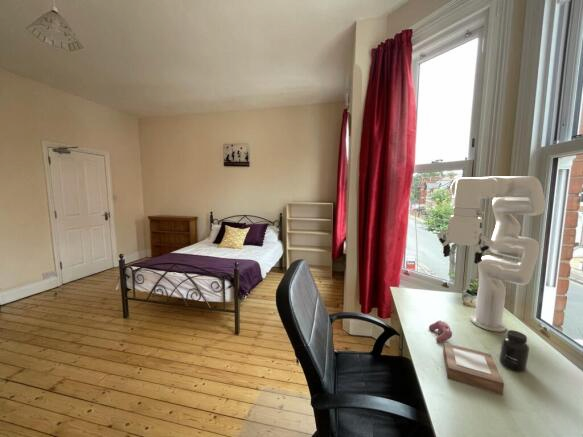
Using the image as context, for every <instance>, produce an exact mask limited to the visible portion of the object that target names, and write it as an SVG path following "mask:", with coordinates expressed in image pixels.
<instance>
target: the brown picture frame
mask: <svg viewBox="0 0 583 437" xmlns="http://www.w3.org/2000/svg"><path fill="white" fill-rule="evenodd" d="M442 355H443V361H444V366H445V371H446V372H445V373H446V377H447V379H448V380H452V381H454V382H456V383H461V384H464V385H467V386H469V387H470V386H471V387H473V388H478V389H480V390H484V391H486V392H491V393H494V394H497V395H500V396H503V395H504V389H505V388H504V387H505V382H504V380H503V378H502V376H501V373H500V371H499V369H498V367H497V364H496V363H495V360H494V358H493V355H492V354H491V353H487V352H484V351H479V350H476V349H471V348H467V347H464V346H463V347H462V346H459V345H455V344H451V343H446V342H443V349H442Z"/></svg>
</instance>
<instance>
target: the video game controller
mask: <svg viewBox="0 0 583 437" xmlns="http://www.w3.org/2000/svg"><path fill="white" fill-rule="evenodd" d="M428 329H429V330H430V331H435V330H437V331H436V333H437V334H439V335H438V336H437V337H436V339H435V340H436V342H438V343H445V342H446V341H448V340H449V339H451V338H452V337H453V332H452V331H451V327H450V326H449V324H448V323H447V322H445V321H443V320H437V321H435V322H434V323H432V324H430V325H429V326H428Z"/></svg>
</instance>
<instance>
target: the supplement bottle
mask: <svg viewBox="0 0 583 437" xmlns="http://www.w3.org/2000/svg"><path fill="white" fill-rule="evenodd" d="M527 338H528V337H527V336H526V334H524V333H523V332H520V331H516V330H512V329H511V330H507V334H506V336H505V337H503V338H502V342H501V348H500V356H499V361H500V363H501V365H502V366H504V367H505V368H507V369H509V370H511V371H513V372H517V373H523V372H526V369H527V364H528V360H529V359H528V358H529V353H530V347H529V345H528V343H527V340H528V339H527Z"/></svg>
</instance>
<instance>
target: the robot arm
mask: <svg viewBox="0 0 583 437" xmlns="http://www.w3.org/2000/svg"><path fill="white" fill-rule="evenodd" d="M543 189H544V188H543V186H542V184H541V181H540V180H539V179H538V177H535V176H482V177H481V176H480V177H475V176H474V177H457V178H456V179H454V180H453V182H452V183H451V185H450V192H451V194H452V196H453V197H454V200H453V210H452V215H450V218H449V219H448V224H447V228H446V230H444V231H440V232H437V233H436V235H437V238H438V240H439V242H440V243H441V245H442V246H443V247H442V254H443V257H444V258H447V257H449V256H450V252H451V246H450V244H451V243H452V244H457V245H463V246H469V247H473V248H474V250H476V251H475V253H474V259H473V260H474V261H473V263H474V264H475V265H476V264H477V269H478V286H477V293H476V294H477V295H476V303H475V311H474V314H472V315H471V316H470V317H469V318H470V321H471V322H472V323H473V324H474V325H476V326H477V327H479V328H482V329H485V330H486V331H491V332H496V333H497V332H498V333H499V332H505V331H506V330H507V325H506V324H505V323H504V322H503V317H504V310H505V300H506V296H507V295H506V294H507V288H506V286H505V284H504V282H508V283H510V284H515V285H520V286H526V285H528V284H529V283H530V281H531V280H532V277H533V273H534V270H535V267H536V264H537V260H538V257H539V252H540V244H539V242H538V240H536V239H534V238H532V237H528V236H520V232H521V228H522V226H521V224H520V222H519V221H518V219H516V217H514V215H520V216H539V215H541V214H542V213H544V212H545V209H546V199H545V195H544V191H543ZM482 199H492V201H491V202H492V203H491V205H492V211H493V215H494V218H495V227H494V228H493V229H494V230H493V232H492V235H491V238H489V237H487V236H485V235H484V234H483V233H484V231H483V229H484V228H483V227H484V226H483V218H482V217H480V216H481V215H482V216H484V215H485V210H481V200H482ZM444 236H445V238H444ZM483 242H485V245H484V246H483V245H482V244H483ZM487 250H489V251H490V252H491V253H493V254H496V255H498V256H496V255H489V254H488V255H483V253H484V252H485V251H487ZM506 257H508V258H506ZM510 258H512V259H510ZM515 259H517V260H515ZM518 259H519V260H518Z"/></svg>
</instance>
